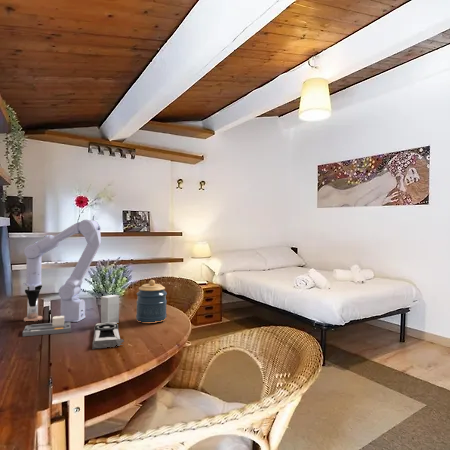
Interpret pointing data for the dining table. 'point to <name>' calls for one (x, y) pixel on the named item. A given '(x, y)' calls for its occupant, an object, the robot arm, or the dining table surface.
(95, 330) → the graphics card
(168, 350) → the dining table surface
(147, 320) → the canister
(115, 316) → the skincare box
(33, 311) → the clear grey cup
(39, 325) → the switch panel
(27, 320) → the coaster
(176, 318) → the dining table surface
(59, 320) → the switch tab
